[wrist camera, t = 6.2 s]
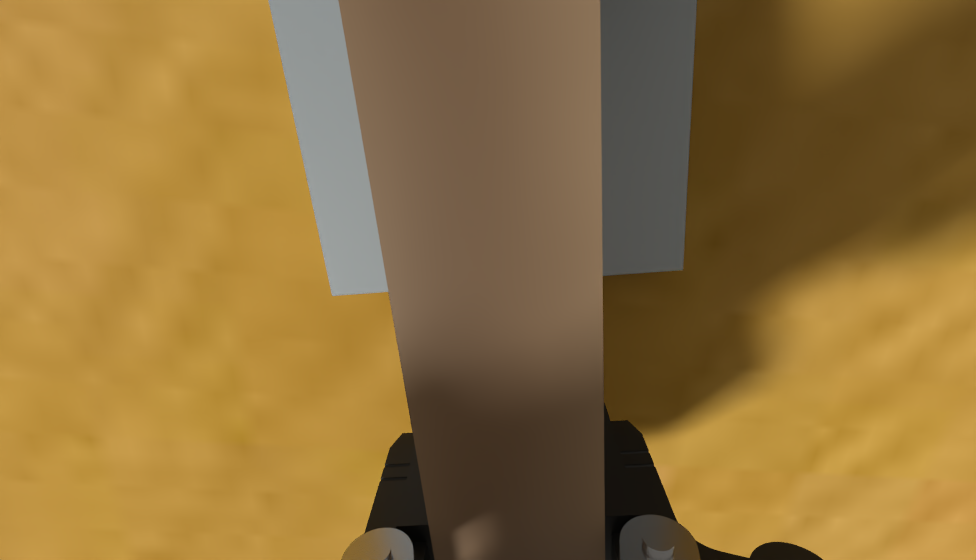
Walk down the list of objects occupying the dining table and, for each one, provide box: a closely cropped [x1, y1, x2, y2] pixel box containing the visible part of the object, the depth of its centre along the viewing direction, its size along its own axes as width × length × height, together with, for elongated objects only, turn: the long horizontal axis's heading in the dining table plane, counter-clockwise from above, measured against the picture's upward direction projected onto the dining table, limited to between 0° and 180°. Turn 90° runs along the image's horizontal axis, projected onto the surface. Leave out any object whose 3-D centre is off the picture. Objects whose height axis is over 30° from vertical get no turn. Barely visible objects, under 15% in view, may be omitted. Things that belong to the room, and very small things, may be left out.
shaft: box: [338, 0, 605, 560], centre depth 8 cm, size 3×23×3 cm, turn 5°
